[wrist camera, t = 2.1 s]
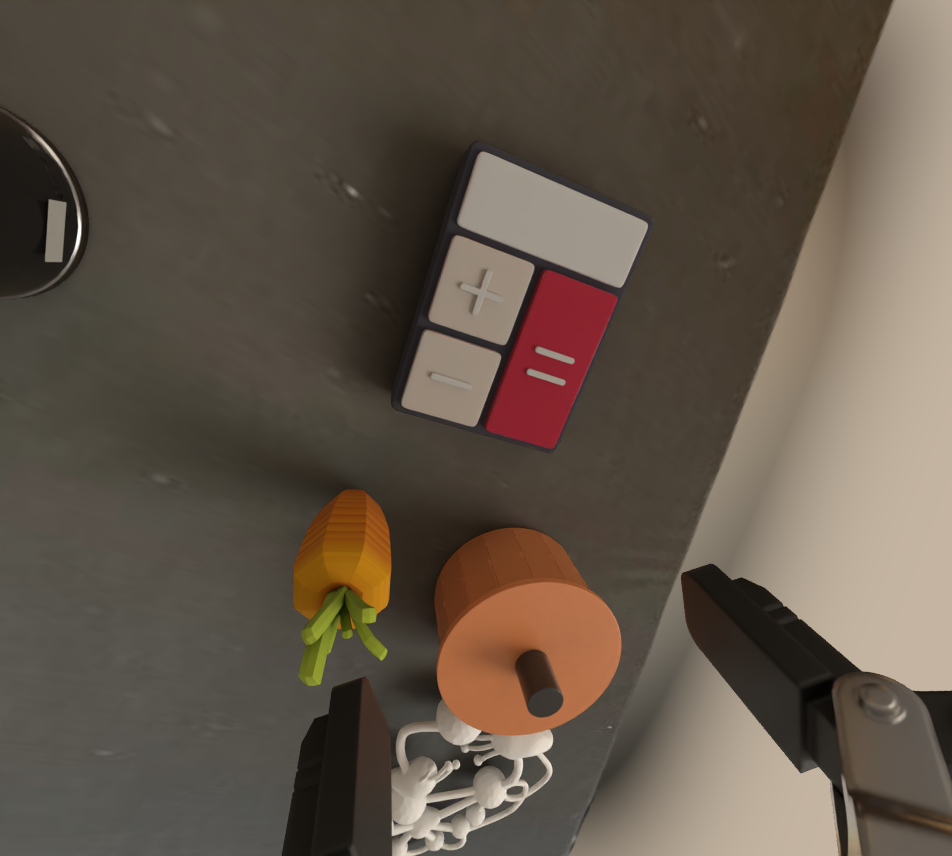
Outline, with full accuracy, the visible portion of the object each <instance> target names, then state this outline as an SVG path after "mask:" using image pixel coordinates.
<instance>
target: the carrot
mask: <svg viewBox="0 0 952 856" xmlns="http://www.w3.org/2000/svg"><path fill="white" fill-rule="evenodd" d="M390 577H391V547H390V537H389V528H388V525H387V522H386V519H385V516H384V514H383V512H382V510H381V507H380V506H379V505H378V504H377V503H376V502H375V501H374V500H373V499H372V498H371V497H370V496H369V495H368V494H367V493H366V492H365V491H364V490H363V489H346V490H344V491H342V492H341V493H340V494H339V495H338V496H336V497H335V498H334V499H333V500H332V501H330V502H329V503H328V504H327V505H326V506H325V507H324V508H323V509H322V510H321V511H320V513H319V514H318V515H317V516H316V518H315V519H314V521H313V522H312V523H311V525H310V526H309V528H308V531H307V533H306V535H305V537H304V540H303V542H302V544H301V547H300V550H299V552H298V555H297V558H296V560H295V563H294V568H293V605H294V608H295V609H296V610H297V611H299V612H300V613H301V614H302V615H304V616H305V617H306V618H307V619H309V620H310V621H309V622H308V623H307V624H306V626H305V627H304V628H303V630H302V631H301V636H302V640H303V641H304V642H305V644H306V647H305V650H304V654H303V658H302V662H301V666H300V671H299V677H300V679H301V681H302V682H304V683H305V684H307V685H308V686H315V685H319V684H321V680H322V675H323V671H324V666H325V662H326V656H327V654H328V653H330V652H331V649H332V646H333V642H334V639H335V636H336V632H337V629H341V631H342V637H343V638H344V639H349V638H350V637H352V636H353V632H352V629H356V630H357V632H358V634H359V636H360V638H361V640H362V642H363V644H364V645H365V647H366V648H367V649H368V650H369V651H370V652H371V653H372V654H373V655H374V656H376V657H377V658H378V659H380V660H381V661H382V660H383V659H384V658H385V656H386V654H387V652H388V651H387V649H386V648H385V647H384V646H383V644H382V643H381V642H380V641H379V640H378V639H377V638H376V637H375V636H374V635H373V633H372V632H371V630H370V629H369V627H368V626H367V624H366V623H372V622H375V621H376V614H378V613H379V612H380V611H381V610H383V609H384V608H385V607H386V606H387V604H388V601H389V591H390Z"/></svg>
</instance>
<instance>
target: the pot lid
mask: <svg viewBox="0 0 952 856" xmlns="http://www.w3.org/2000/svg"><path fill="white" fill-rule="evenodd" d="M620 654H621V636H620V630H619V627H618V624H617V621H616V619H615V617H614V615H613V613H612V612H611V610H610V609H609V607H608V606H607V605H606V603H605V602H604V601H603V600H602V599H601V598H600V597H599V596H598V595H597V594H595V593H594V592H592V591H591V590H589V589H588V588H586V587H583V586H581V585H579V584H577V583H574V582H571V581H567V580H562V579H556V578H532V579H525V580H520V581H516V582H512V583H509V584H506V585H503V586H501V587H498V588H496V589H494V590H492V591H490V592H488V593H486V594H485V595H483V596H481V597H480V598H478V599H477V600H475V601H474V602H473V603H471V604H470V605H469V606H468V607H467V608H466V609H465V610H463V611H462V612H461V613H460V614H459V616H458V617H457V618H456V619H455V620H454V621H453V623H452V624H451V626H450V627H449V629H448V630H447V632H446V634H445V636H444V638H443V640H442V642H441V645H440V648H439V651H438V656H437V662H436V675H437V682H438V688H439V691H440V694H441V696H442V698H443V700H444V702H445V704H446V705H447V707H448V708H449V709H450V710H451V712H452V713H453V714H454V715H455V716H456V717H458V718H459V719H460V720H461V721H463V722H464V723H466V724H467V725H469V726H471V727H473V728H475V729H478V730H481V731H484V732H487V733H491V734H496V735H507V736H516V735H527V734H533V733H538V732H542V731H545V730H548V729H552V728H554V727H557V726H559V725H561V724H563V723H565V722H567V721H569V720H571V719H573V718H574V717H576V716H577V715H579V714H580V713H582V712H583V711H585V710H586V709H587V708H588V707H589V706H590V705H592V704H593V703H594V702H595V701H596V700H597V699H598V698H599V697H600V695H601V694H602V693H603V692H604V690H605V689H606V688H607V686H608V685H609V683H610V681H611V680H612V678H613V676H614V674H615V671H616V669H617V666H618V663H619V660H620Z"/></svg>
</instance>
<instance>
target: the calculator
mask: <svg viewBox="0 0 952 856" xmlns="http://www.w3.org/2000/svg"><path fill="white" fill-rule="evenodd" d="M653 225H654V220H653V218H652V216H650V215H649V214H646V213H644V212H642V211H640V210H637V209H635V208H633V207H631V206H628V205H626V204H624V203H621V202H619V201H617V200H615V199H612V198H610V197H608V196H606V195H603V194H601V193H599V192H596V191H594V190H592V189H590V188H587V187H585V186H583V185H581V184H578V183H576V182H574V181H571V180H569V179H567V178H565V177H562V176H560V175H558V174H556V173H553V172H551V171H549V170H546V169H544V168H542V167H540V166H537V165H535V164H533V163H531V162H528V161H526V160H524V159H522V158H519V157H517V156H515V155H512V154H510V153H508V152H506V151H503V150H501V149H499V148H497V147H494V146H492V145H490V144H487V143H485V142H483V141H475V142H473V143H472V144H471V145H470V146H469V148H468V149H467V150H466V152H465V153H464V154H463V156H462V159H461V162H460V165H459V169H458V172H457V175H456V179H455V182H454V185H453V188H452V192H451V195H450V198H449V202H448V205H447V208H446V212H445V215H444V218H443V222H442V226H441V230H440V233H439V237H438V240H437V243H436V246H435V250H434V253H433V256H432V259H431V263H430V266H429V269H428V272H427V276H426V279H425V282H424V286H423V289H422V292H421V295H420V299H419V302H418V305H417V308H416V312H415V315H414V318H413V321H412V325H411V328H410V331H409V334H408V338H407V341H406V344H405V348H404V351H403V354H402V357H401V361H400V364H399V367H398V370H397V374H396V377H395V380H394V384H393V387H392V396H391V405H392V407H393V408H394V409H395V410H397V411H400V412H404V413H407V414H411V415H414V416H418V417H421V418H425V419H429V420H432V421H436V422H439V423H443V424H446V425H450V426H454V427H457V428H461V429H464V430H468V431H471V432H475V433H479V434H482V435H486V436H489V437H493V438H496V439H500V440H504V441H507V442H511V443H514V444H518V445H521V446H525V447H529V448H532V449H536V450H539V451H543V452H547V453H553V452H555V451H556V450H557V448H558V446H559V443H560V441H561V439H562V436H563V434H564V432H565V430H566V427H567V425H568V423H569V420H570V418H571V416H572V413H573V411H574V409H575V406H576V404H577V402H578V399H579V397H580V395H581V393H582V390H583V388H584V386H585V383H586V381H587V379H588V376H589V374H590V372H591V369H592V367H593V365H594V363H595V360H596V358H597V356H598V353H599V351H600V349H601V346H602V344H603V342H604V339H605V337H606V335H607V332H608V330H609V328H610V326H611V323H612V321H613V319H614V316H615V314H616V312H617V309H618V307H619V305H620V302H621V300H622V298H623V295H624V293H625V291H626V289H627V286H628V284H629V282H630V279H631V277H632V275H633V272H634V270H635V268H636V265H637V263H638V261H639V259H640V256H641V254H642V252H643V249H644V247H645V245H646V242H647V240H648V238H649V235H650V233H651V231H652V228H653Z"/></svg>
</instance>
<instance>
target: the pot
mask: <svg viewBox="0 0 952 856" xmlns="http://www.w3.org/2000/svg"><path fill="white" fill-rule="evenodd" d="M532 578H556V579H562V580H567V581H571V582H574V583H577V584H579V585H581V586H583V587H586V588H588V587H587V585H586V583H585V582H584V580H583V578H582V577H581V575H580V573H579V572H578V570H577V568H576V567H575V565H574V564H573V562H572V561H571V559H570V558H569V556H568V554H567V553H566V552H565V550H564V548H563V547H562V546H561V545H559V544H558V543H557V542H556V541H555V540H553V539H552V538H551V537H549V536H547V535H545V534H543V533H541V532H538V531H535V530H531V529H526V528H503V529H497V530H493V531H490V532H486V533H484V534H481V535H479V536H477V537H475V538H473V539H472V540H470V541H468V542H467V543H465V544H464V545H463V546H461V547H460V548H459V549H458V550H457V551H456V552H455V553H454V554H453V555H452V556H451V557H450V558H449V560H448V561H447V562H446V564H445V565H444V567H443V569H442V571H441V573H440V575H439V578H438V581H437V584H436V590H435V598H434V604H435V612H436V619H437V627H438V635H439V643H440V645H441V642H442V640H443V638H444V636H445V634H446V632H447V630H448V629H449V627H450V626H451V624H452V623H453V621H454V620H455V619H456V618H457V617H458V616H459V614H460V613H461V612H462V611H463V610H465V609H466V608H467V607H468V606H469V605H470V604H471V603H473V602H474V601H475V600H477V599H478V598H480V597H481V596H483V595H485V594H486V593H488V592H490V591H492V590H494V589H496V588H498V587H501V586H503V585H506V584H509V583H512V582H516V581H520V580H525V579H532ZM588 589H589V588H588Z"/></svg>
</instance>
